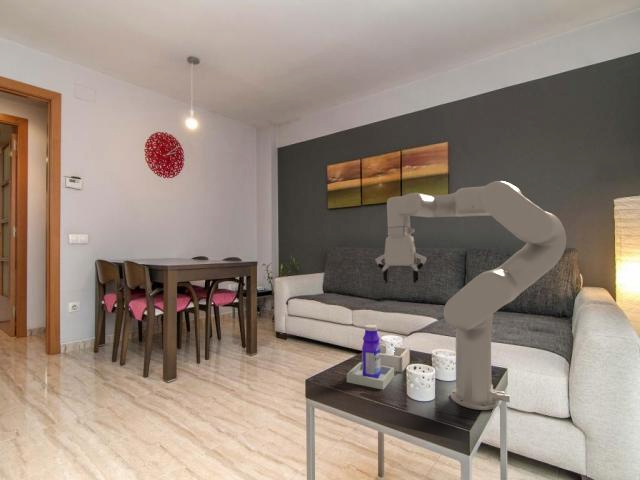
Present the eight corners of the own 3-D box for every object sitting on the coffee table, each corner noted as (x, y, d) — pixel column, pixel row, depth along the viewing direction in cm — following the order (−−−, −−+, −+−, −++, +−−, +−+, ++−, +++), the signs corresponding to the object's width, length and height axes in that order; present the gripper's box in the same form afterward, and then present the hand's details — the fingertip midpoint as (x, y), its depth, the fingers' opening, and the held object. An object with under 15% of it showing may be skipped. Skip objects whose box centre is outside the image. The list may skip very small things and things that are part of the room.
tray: (394, 375, 118) (394, 367, 118) (383, 389, 106) (383, 380, 106) (360, 369, 124) (360, 361, 124) (346, 382, 112) (346, 373, 112)
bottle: (376, 382, 110) (375, 328, 110) (359, 378, 113) (359, 327, 113) (383, 374, 117) (382, 324, 117) (367, 371, 119) (367, 322, 120)
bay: (409, 362, 131) (409, 348, 131) (401, 373, 120) (401, 357, 120) (380, 357, 136) (379, 344, 136) (369, 367, 126) (369, 352, 126)
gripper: (426, 231, 116) (428, 281, 115) (377, 234, 123) (379, 281, 123) (423, 231, 109) (425, 284, 108) (371, 233, 116) (373, 283, 116)
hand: (401, 282), depth 115 cm, fingers open, 9 cm apart
